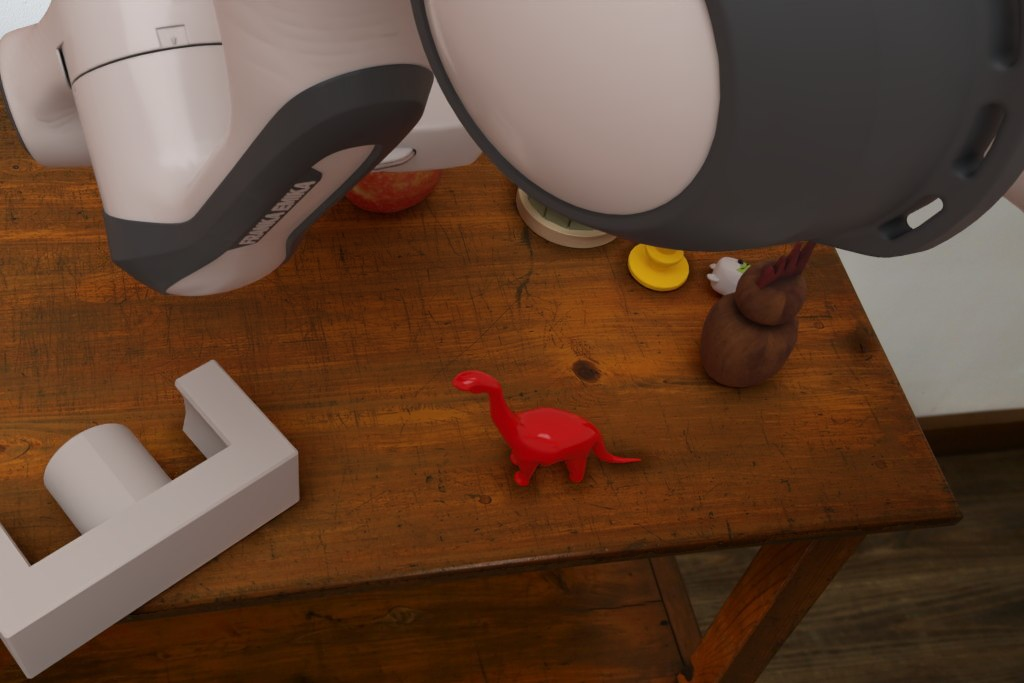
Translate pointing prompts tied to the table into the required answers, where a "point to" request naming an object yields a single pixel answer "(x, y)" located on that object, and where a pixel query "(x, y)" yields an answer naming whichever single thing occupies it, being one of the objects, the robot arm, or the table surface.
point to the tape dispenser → (142, 518)
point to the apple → (393, 190)
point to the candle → (658, 267)
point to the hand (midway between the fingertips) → (495, 29)
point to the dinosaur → (539, 432)
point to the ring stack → (558, 225)
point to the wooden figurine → (756, 321)
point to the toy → (731, 277)
